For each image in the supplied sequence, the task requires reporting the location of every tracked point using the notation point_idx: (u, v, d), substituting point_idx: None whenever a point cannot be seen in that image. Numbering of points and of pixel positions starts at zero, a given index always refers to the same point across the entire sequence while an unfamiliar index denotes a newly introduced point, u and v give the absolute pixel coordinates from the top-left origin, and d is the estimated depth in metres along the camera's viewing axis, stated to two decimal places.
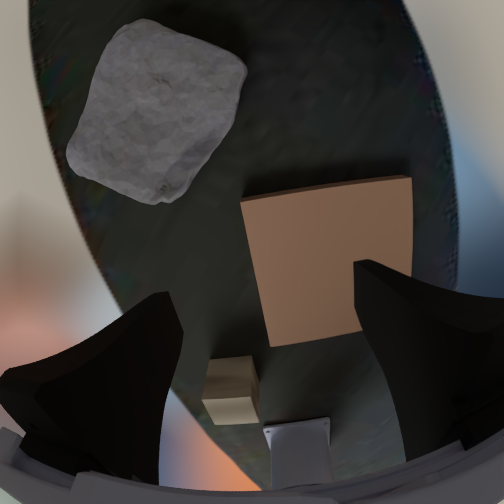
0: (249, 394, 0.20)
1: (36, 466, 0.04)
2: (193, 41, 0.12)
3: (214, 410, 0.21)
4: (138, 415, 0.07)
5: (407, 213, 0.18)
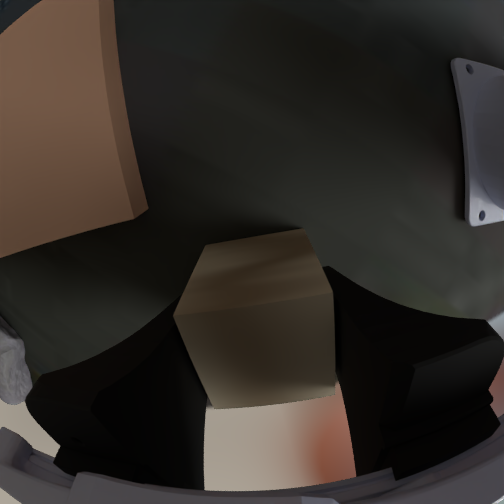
0: (177, 311, 0.07)
1: (36, 466, 0.04)
2: None
3: (259, 394, 0.08)
4: (186, 417, 0.06)
5: None
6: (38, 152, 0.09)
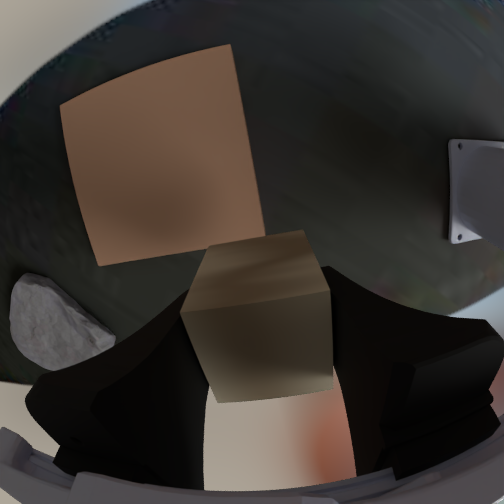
0: (184, 309, 0.08)
1: (36, 466, 0.04)
2: (11, 312, 0.18)
3: (261, 388, 0.08)
4: (185, 417, 0.06)
5: (88, 97, 0.14)
6: (188, 188, 0.16)
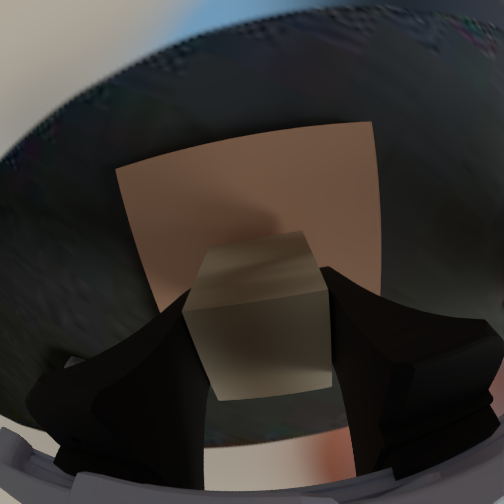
0: (185, 308, 0.08)
1: (36, 466, 0.04)
2: None
3: (261, 385, 0.09)
4: (186, 417, 0.06)
5: (164, 165, 0.12)
6: None
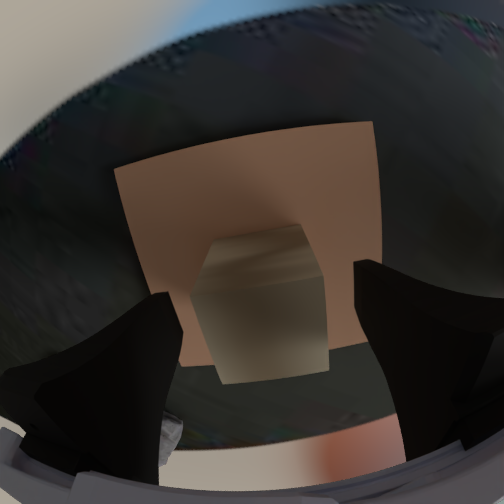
0: (193, 294, 0.09)
1: (36, 466, 0.04)
2: None
3: (262, 368, 0.09)
4: (138, 415, 0.07)
5: (163, 164, 0.12)
6: None
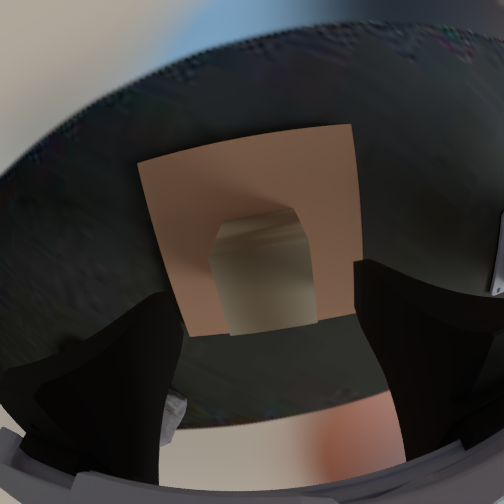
0: None
1: (36, 466, 0.04)
2: None
3: (263, 320, 0.12)
4: (138, 415, 0.07)
5: (180, 160, 0.14)
6: None
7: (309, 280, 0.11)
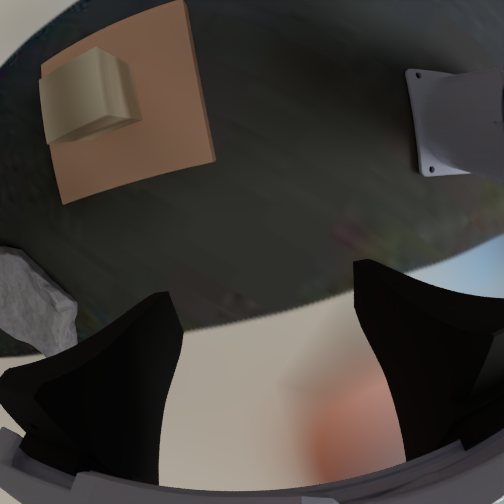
0: None
1: (36, 466, 0.04)
2: None
3: (67, 121, 0.11)
4: (138, 415, 0.07)
5: (64, 54, 0.13)
6: None
7: (96, 76, 0.10)
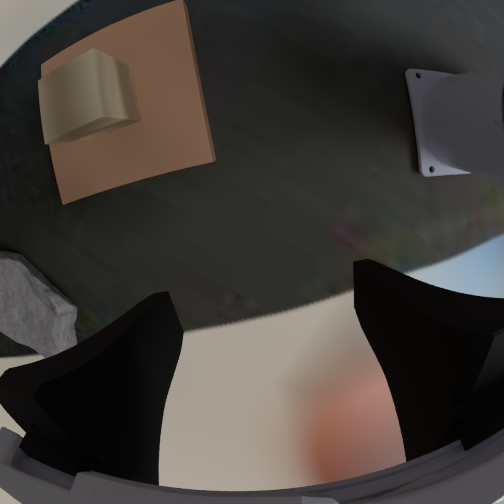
0: None
1: (36, 466, 0.04)
2: None
3: (64, 122, 0.11)
4: (138, 415, 0.07)
5: (64, 54, 0.13)
6: (141, 118, 0.15)
7: (93, 77, 0.10)
